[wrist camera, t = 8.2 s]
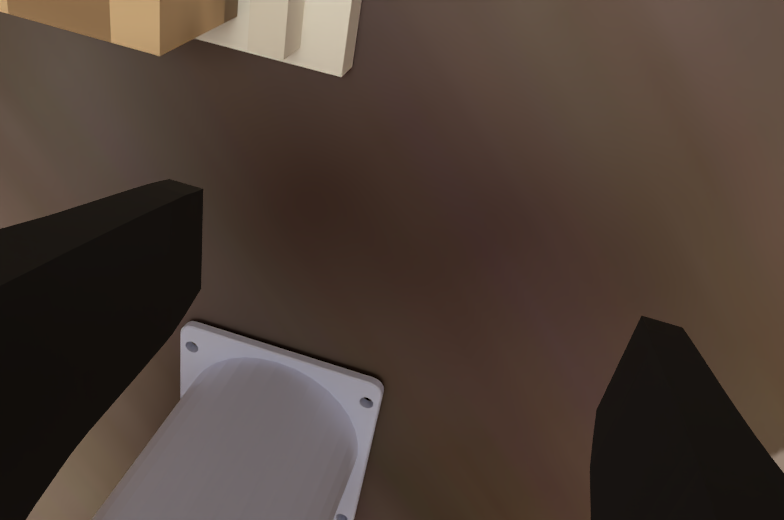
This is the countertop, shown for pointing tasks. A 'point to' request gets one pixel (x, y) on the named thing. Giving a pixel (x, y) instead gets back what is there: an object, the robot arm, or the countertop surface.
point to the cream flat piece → (294, 32)
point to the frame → (129, 19)
